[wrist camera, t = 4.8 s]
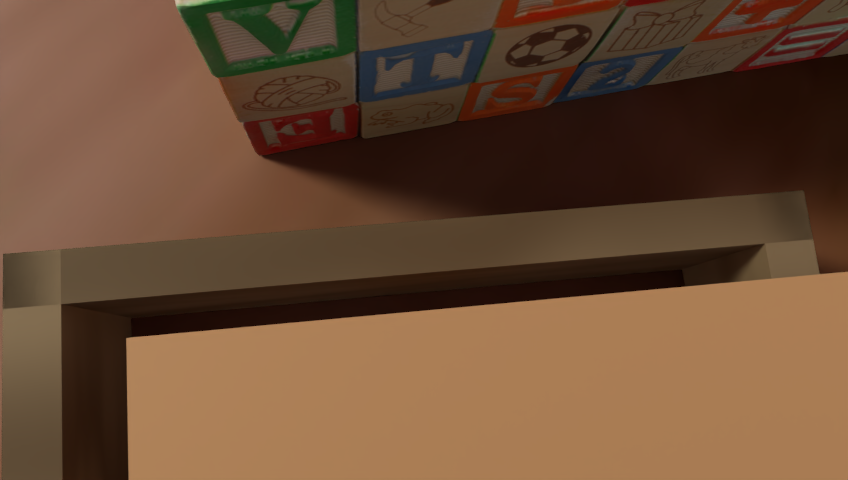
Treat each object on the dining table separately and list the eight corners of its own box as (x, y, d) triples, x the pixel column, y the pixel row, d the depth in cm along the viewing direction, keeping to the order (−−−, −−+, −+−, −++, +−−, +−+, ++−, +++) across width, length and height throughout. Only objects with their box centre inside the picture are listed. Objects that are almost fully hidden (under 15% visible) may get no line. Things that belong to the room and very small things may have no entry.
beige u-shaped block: (764, 527, 20) (877, 574, 15) (90, 611, 18) (0, 690, 14) (713, 226, 21) (803, 190, 17) (86, 279, 20) (2, 254, 15)
